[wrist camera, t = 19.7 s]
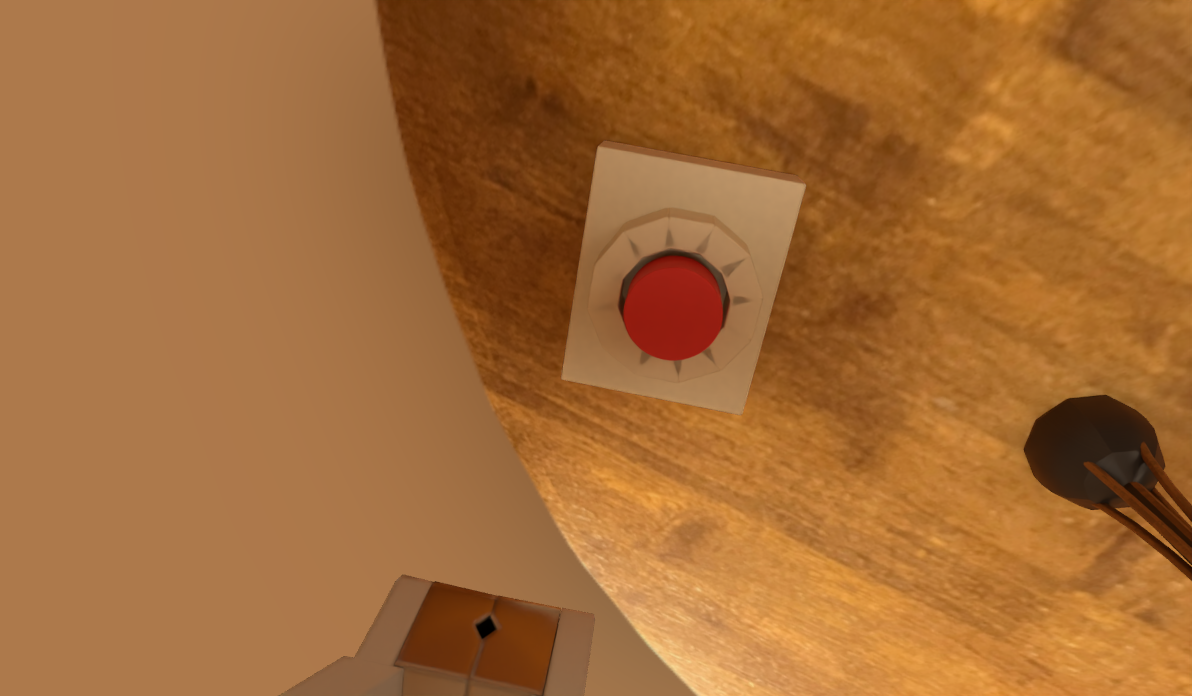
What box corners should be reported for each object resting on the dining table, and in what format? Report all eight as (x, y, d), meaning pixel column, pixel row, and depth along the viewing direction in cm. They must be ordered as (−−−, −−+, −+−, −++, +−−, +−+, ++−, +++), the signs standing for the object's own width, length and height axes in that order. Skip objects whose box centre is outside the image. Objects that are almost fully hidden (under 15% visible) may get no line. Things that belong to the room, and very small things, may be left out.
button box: (568, 360, 32) (552, 398, 29) (603, 139, 28) (590, 151, 25) (738, 394, 32) (745, 437, 28) (798, 175, 28) (815, 192, 24)
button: (619, 334, 28) (615, 351, 26) (636, 246, 26) (632, 258, 25) (709, 351, 27) (710, 369, 26) (731, 264, 26) (733, 278, 24)
